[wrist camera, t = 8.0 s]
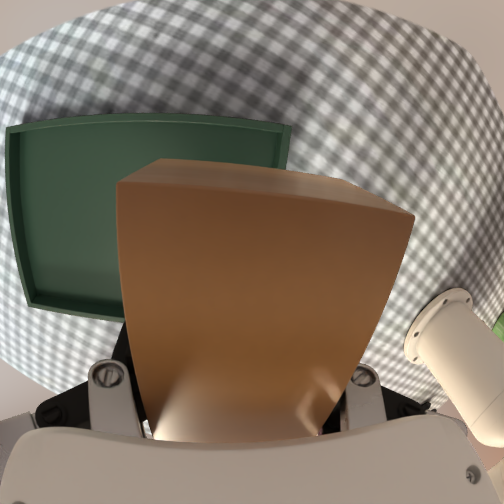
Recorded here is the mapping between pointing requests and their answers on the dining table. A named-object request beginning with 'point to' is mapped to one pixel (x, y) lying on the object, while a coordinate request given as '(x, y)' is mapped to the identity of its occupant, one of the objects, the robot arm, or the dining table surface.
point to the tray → (104, 193)
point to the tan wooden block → (250, 294)
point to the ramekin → (499, 327)
